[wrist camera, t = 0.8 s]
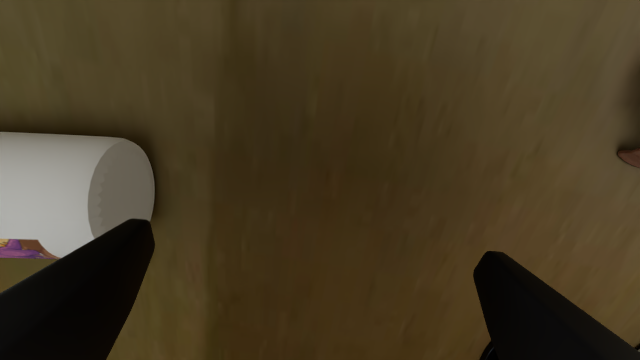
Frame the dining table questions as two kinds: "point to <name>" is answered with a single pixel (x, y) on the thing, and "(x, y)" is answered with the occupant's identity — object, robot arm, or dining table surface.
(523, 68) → the dining table surface
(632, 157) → the pottery mug
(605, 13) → the dining table surface
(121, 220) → the milk bottle
